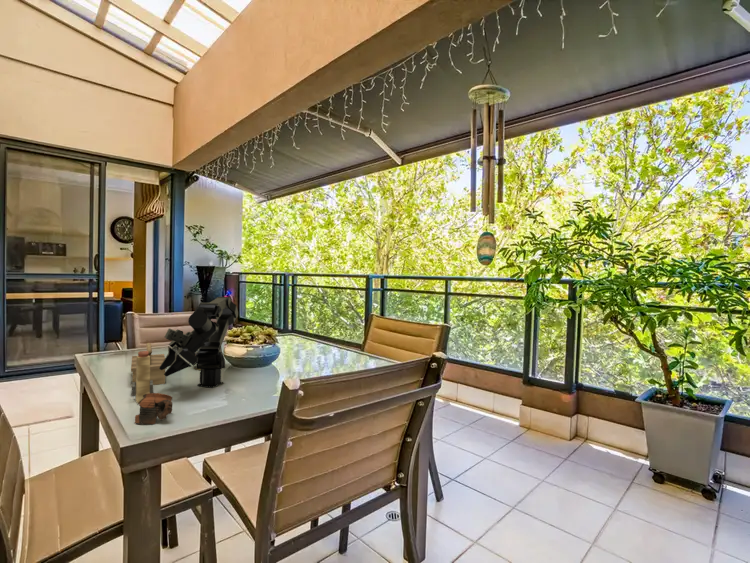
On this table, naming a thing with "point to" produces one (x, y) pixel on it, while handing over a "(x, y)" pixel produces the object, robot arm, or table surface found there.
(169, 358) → the robot arm
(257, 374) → the table surface
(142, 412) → the brown black chunky piece
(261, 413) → the table surface
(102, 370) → the table surface
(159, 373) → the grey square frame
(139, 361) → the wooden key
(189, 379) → the table surface
